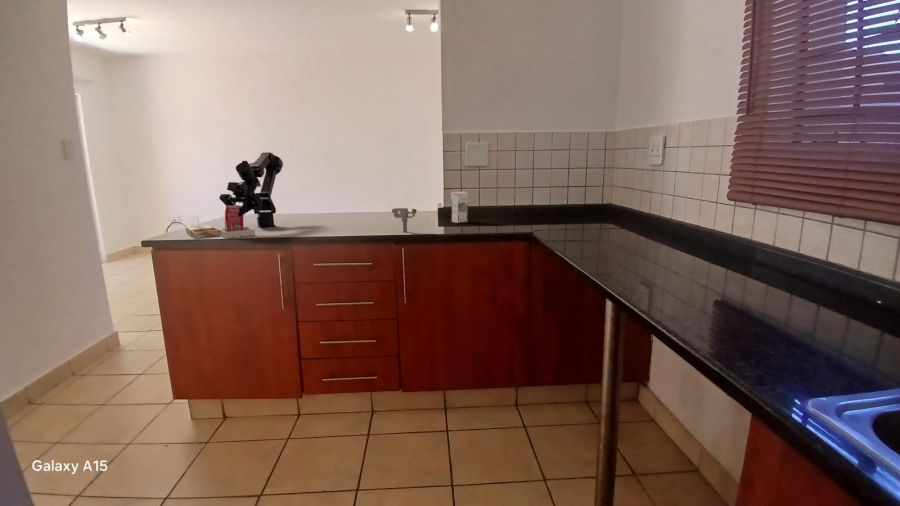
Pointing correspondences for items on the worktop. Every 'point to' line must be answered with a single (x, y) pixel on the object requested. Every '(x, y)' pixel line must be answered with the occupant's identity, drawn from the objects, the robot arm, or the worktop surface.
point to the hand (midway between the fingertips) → (232, 216)
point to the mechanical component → (403, 215)
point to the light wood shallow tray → (202, 231)
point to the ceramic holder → (237, 232)
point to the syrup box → (459, 207)
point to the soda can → (233, 218)
